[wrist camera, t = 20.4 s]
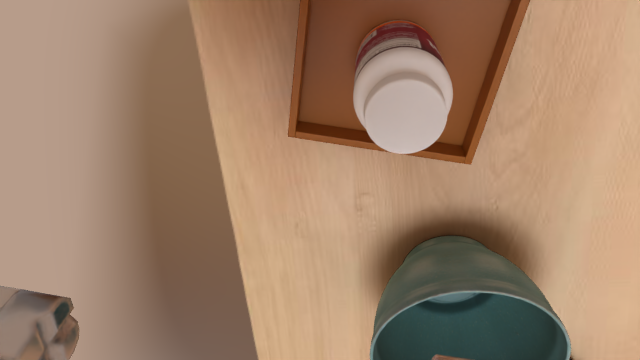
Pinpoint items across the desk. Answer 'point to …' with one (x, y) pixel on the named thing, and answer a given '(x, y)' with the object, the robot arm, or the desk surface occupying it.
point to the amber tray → (453, 45)
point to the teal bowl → (464, 308)
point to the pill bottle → (401, 87)
